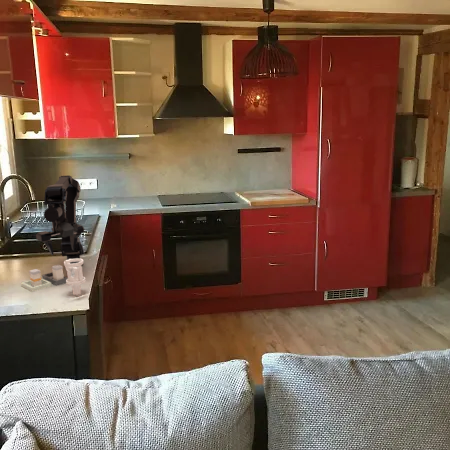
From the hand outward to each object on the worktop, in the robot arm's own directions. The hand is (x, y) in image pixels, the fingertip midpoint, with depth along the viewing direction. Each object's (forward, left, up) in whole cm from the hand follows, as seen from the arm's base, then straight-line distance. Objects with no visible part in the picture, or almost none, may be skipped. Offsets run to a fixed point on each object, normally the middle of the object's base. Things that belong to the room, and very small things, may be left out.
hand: (63, 252), depth 209 cm
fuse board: (+2, -6, -12) cm, 13 cm away
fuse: (+5, -6, -11) cm, 13 cm away
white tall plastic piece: (+22, -7, -12) cm, 26 cm away
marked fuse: (+2, -14, -11) cm, 18 cm away
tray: (+2, -14, -12) cm, 18 cm away
